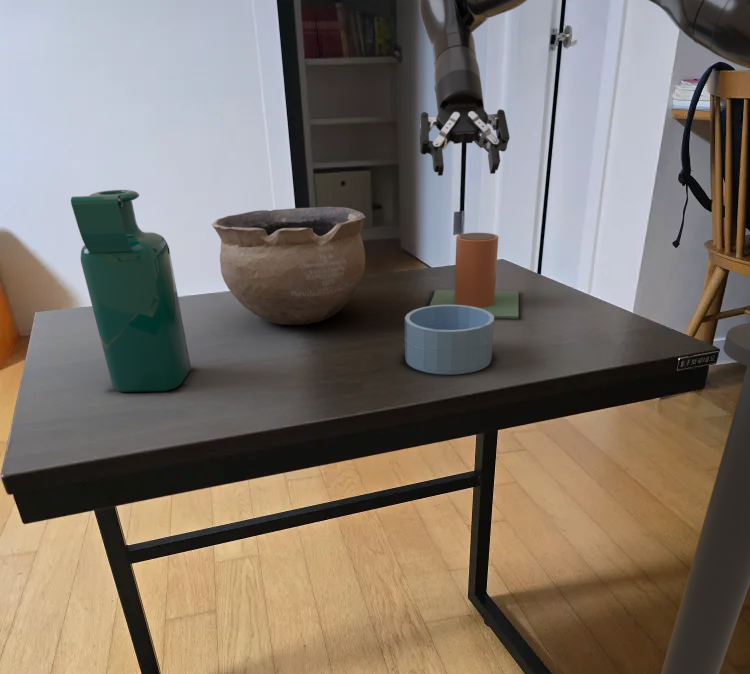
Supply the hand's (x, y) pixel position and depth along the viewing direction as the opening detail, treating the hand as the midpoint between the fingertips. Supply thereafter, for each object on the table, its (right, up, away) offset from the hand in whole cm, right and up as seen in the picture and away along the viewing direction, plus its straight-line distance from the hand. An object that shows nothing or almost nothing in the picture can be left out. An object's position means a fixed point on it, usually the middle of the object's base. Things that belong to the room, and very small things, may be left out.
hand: (467, 171), depth 107 cm
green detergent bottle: (-43, -38, -23) cm, 62 cm away
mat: (+1, -21, +1) cm, 21 cm away
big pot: (-5, -34, -20) cm, 40 cm away
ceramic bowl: (-27, -24, -2) cm, 36 cm away
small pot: (+1, -21, +1) cm, 21 cm away
